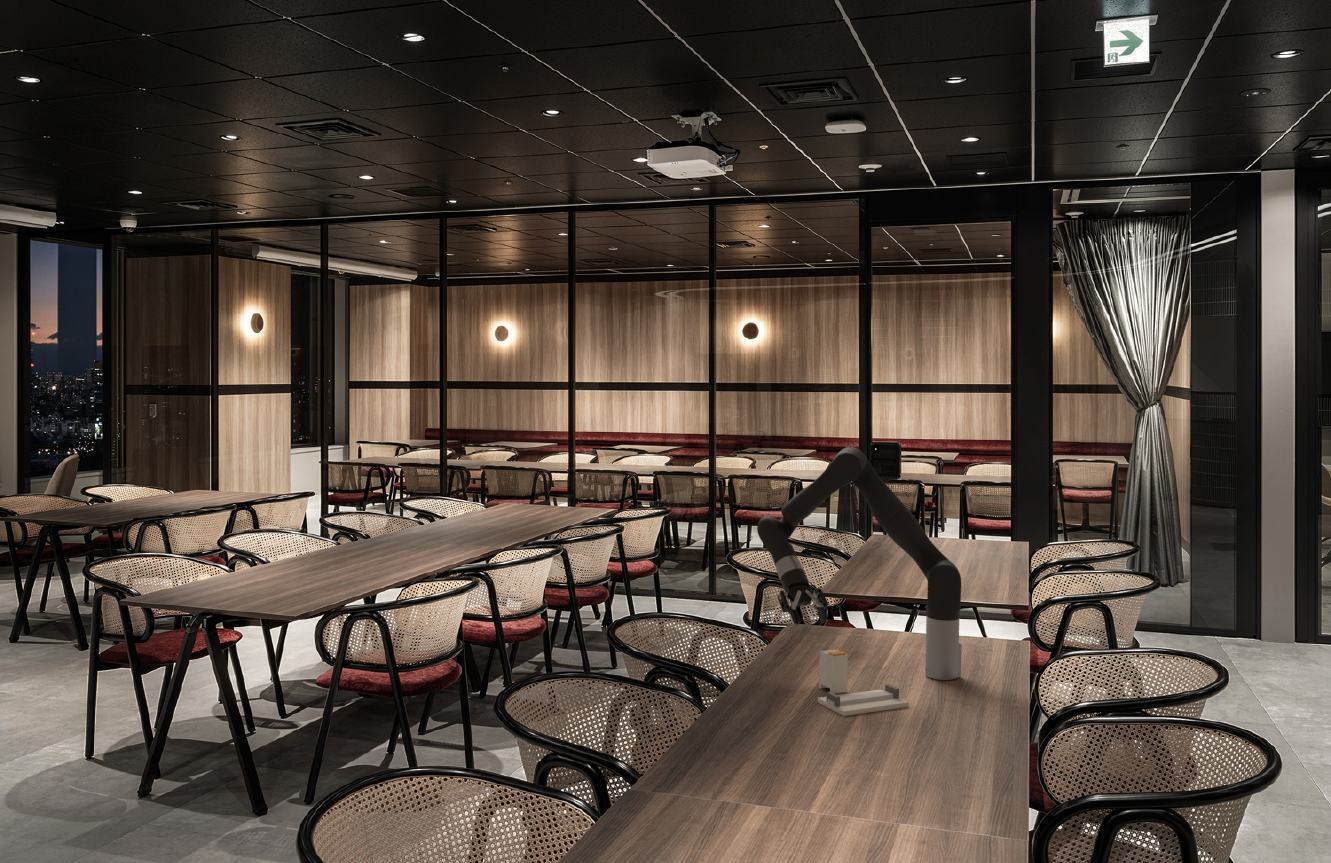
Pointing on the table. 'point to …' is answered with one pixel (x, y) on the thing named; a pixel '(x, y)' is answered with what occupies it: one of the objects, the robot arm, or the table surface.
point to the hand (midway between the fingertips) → (811, 622)
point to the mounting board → (864, 701)
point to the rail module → (833, 670)
